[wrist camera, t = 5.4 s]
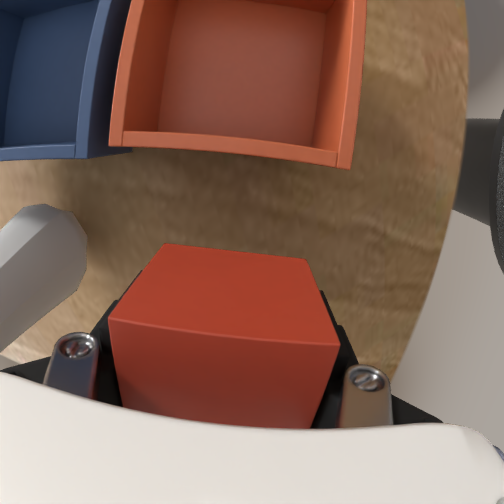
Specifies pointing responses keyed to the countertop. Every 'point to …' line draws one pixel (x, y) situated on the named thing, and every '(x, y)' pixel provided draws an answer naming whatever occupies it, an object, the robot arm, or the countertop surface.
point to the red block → (224, 339)
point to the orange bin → (242, 78)
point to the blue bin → (59, 77)
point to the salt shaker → (38, 266)
